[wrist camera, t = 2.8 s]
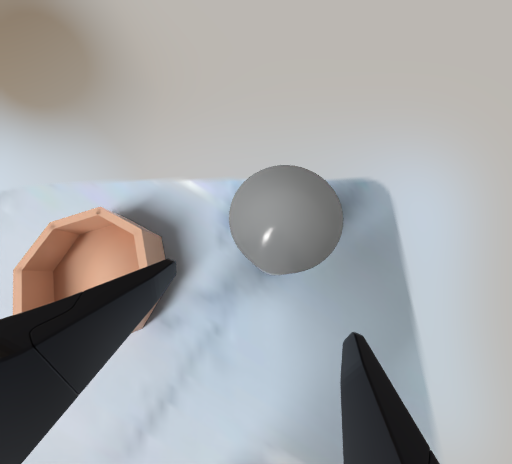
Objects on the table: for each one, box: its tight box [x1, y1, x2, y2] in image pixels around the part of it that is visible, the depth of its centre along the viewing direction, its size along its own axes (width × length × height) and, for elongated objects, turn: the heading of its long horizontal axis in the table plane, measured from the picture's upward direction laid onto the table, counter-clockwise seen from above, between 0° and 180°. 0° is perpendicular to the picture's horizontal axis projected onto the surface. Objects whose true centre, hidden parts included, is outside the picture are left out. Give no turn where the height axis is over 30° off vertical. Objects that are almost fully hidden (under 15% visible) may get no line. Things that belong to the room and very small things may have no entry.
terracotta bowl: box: [13, 207, 165, 333], centre depth 19 cm, size 13×13×4 cm
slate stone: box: [229, 165, 343, 276], centre depth 14 cm, size 5×5×12 cm
